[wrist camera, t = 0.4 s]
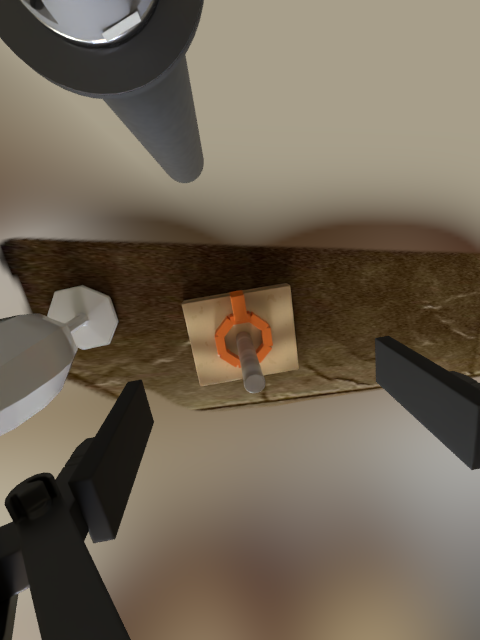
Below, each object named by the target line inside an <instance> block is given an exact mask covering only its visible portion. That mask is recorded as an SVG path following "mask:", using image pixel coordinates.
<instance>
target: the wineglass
mask: <svg viewBox="0 0 480 640" xmlns="http://www.w3.org/2000/svg"><path fill="white" fill-rule="evenodd" d="M47 316H48V317H47ZM47 316H44V315H42V314H26V315H17V316H12V317H9V318H3V319H0V436H1V435H3V434H5V433H7V432H8V431H11V430H13V429H15V428H16V427H17V426H19V425H20V424H22V423H23V422H25V421H26V420H27V419H29V418H30V417H32V416H33V415H35V414H36V413H37V412H39V411H40V410H42V409H43V408H44V407H46V406H47V405H48V403H49V402H50V401H51V400H52V399H53V398H54V397H55V396H56V395H57V394H58V393H59V392H60V391H61V390H62V387H63V385H64V383H65V381H66V378H67V376H68V374H69V372H70V369H71V366H72V363H73V361H74V358H75V355H76V352H77V350H78V349H77V347H78V348H81V349H83V350H84V349H89V348H93V347H98V346H103V345H107V344H110V342H111V340H112V337H113V335H114V332H115V329H116V327H117V324H118V322H119V320H118V317H117V315H116V312H115V309H114V306H113V303H112V300H111V298H110V296H108V295H106V294H103V293H101V292H98V291H96V290H94V289H91V288H89V287H86V286H84V285H81V286H77V287H72V288H67V289H63V290H58V291H55V293H54V296H53V299H52V303H51V306H50V309H49V312H48V315H47Z"/></svg>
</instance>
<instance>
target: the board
mask: <svg viewBox="0 0 480 640" xmlns="http://www.w3.org/2000/svg"><path fill="white" fill-rule="evenodd" d="M242 292H243V294H244V298H245V304H246V311H249V312H250V313H251V312H254V313H255V314H256V315H258V316H259V317H261V318H262V319H264V320H265V321H267V322H268V324H269V326H270V327H271V334H272V342H273V346H271V347H272V349H271V351H270V352H269V353H268V354H267V356H266V357H265V358H264V359H263V361H262V362H261V363H259V360H258V357H257V354H256V350H257V349H258V347H259V346H260V345H261V343H262V335H261V330H260V329H258V328H257V327H255V326H254V325H252V324H251V323H249V322H248V323H242V324H236V325H233V326H232V328H231V329H230V330H229V332H228V333H227V334H226V336H225V343H226V348H227V349H228V350H230V351H231V352H233V353H234V354H236V355H238V356H239V359H240V364H241V368H239V367H238V366H237V367H234V366H232V365H231V364H229V363H228V362H226V361H224V360H223V359H221V358H220V355H218V352H217V347H216V342H215V331H216V330H217V328H218V327H219V326H220V324H221V323H222V321H223V320H224V319H225V317H226V316H228V317H229V318H230V314H233V310H232V304H231V298H230V293H225V294H219V295H213V296H207V297H201V298H195V299H189V300H184V301H183V303H182V307H183V312H184V316H185V321H186V325H187V329H188V334H189V338H190V343H191V347H192V352H193V356H194V360H195V365H196V369H197V374H198V378H199V383H200V386H206V385H211V384H217V383H222V382H228V381H234V380H239V379H243V381H244V386H245V388H246V390H247V391H249V392H251V393H258V392H260V391H261V390H263V388H264V387H265V379H264V376H263V375H267V374H273V373H278V372H284V371H289V370H295V369H299V366H298V356H297V347H296V337H295V327H294V318H293V308H292V298H291V288H290V285H289V284H287V283H284V284H278V285H272V286H266V287H260V288H254V289H248V290H242Z"/></svg>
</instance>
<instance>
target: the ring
mask: <svg viewBox="0 0 480 640" xmlns="http://www.w3.org/2000/svg"><path fill="white" fill-rule="evenodd" d="M230 298H231V304H232V310H233V314H230V318H229V317H228V316H226V317H225V319H224V320H223V321H222V323H221V324H220V326H219V327H218V328H217V330H216V331H215V342H216V347H217V352H218V355H220V358H221V359H223V360H224V361H226V362H228V363H229V364H231V365H232V366H234V367H237V366H238V367H239V368H241V364H240V359H239V356H238V355H236V354H234V353H233V352H231V351H230V350H228V349H227V348H226V343H225V336H226V334H227V333H228V332H229V330H230V329H231V328H232V326H233V325H236V324H242V323H248V322H249V323H251V324H252V325H254V326H255V327H257V328H258V329H260V330H261V335H262V343H261V345H260V346H259V347H258V349H257V350H256V354H257V357H258V360H259V363H261V362H262V361H263V359H264V358H265V357H266V356H267V354H268V353H269V352H270V351H271V349H272V347H271V346H273V342H272V334H271V327H270V326H269V324H268V322H267V321H265V320H264V319H262V318H261V317H259V316H258V315H256V314H255V313H254V312H251V313H250V312H249V311H246V304H245V298H244V294H243V292H242V290H239V291H233V292H230Z"/></svg>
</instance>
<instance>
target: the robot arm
mask: <svg viewBox="0 0 480 640" xmlns="http://www.w3.org/2000/svg"><path fill="white" fill-rule="evenodd" d="M20 1H21V2H22V4H23V5H24V6H25V7H26V8H27V10H28V11H29V12H30V13H31V14H32V15H33V17H34V18H35V19H36V20H37V21H38V22H39V23H40V24H41V25H43V26H44V27H45V28H46V29H47V30H49V31H50V32H51V33H53V34H54V35H55V36H57V37H59V38H60V39H62V40H64V41H66V42H68V43H70V44H73V45H76V46H79V47H83V48H87V49H109V48H114V47H117V46H120V45H122V44H124V43H126V42H128V41H130V40H131V39H133V38H134V37H135V36H137V35H138V34H139V33H140V32H141V31H142V30H143V29H144V28H145V27H146V25H147V24H148V23H149V21H150V20H151V18H152V16H153V15H154V13H155V11H156V8H157V6H158V3H159V1H160V0H20ZM375 352H376V382H377V383H378V384H379V385H380V386H381V387H382V388H384V389H385V390H386V391H387V392H388V393H389V394H390V395H391V396H392V397H393V398H395V400H396V401H398V402H399V403H400V404H401V405H402V406H403V407H404V408H405V409H406V410H407V411H408V412H410V413H411V414H412V415H413V416H414V417H415V418H416V419H417V420H418V421H419V422H420V423H421V424H423V425H424V426H425V427H426V428H427V429H428V430H429V431H430V432H431V433H432V434H433V435H434V436H435V437H437V438H438V439H439V440H440V441H441V442H442V443H443V444H444V445H445V446H446V447H447V448H449V449H450V450H451V451H452V452H453V453H454V454H455V455H456V456H457V457H458V458H459V459H460V460H461V461H463V462H464V463H465V464H466V465H467V466H468V467H469V468H470V469H471V470H474V469H479V468H480V383H478V382H477V381H476V380H474V379H472V378H470V377H468V376H467V375H464V374H461V373H458V372H455V371H450V372H449V371H447V370H446V369H444V368H442V367H440V366H439V365H437V364H435V363H434V362H432V361H430V360H429V359H427V358H425V357H424V356H422V355H420V354H418V353H417V352H415V351H413V350H412V349H410V348H408V347H407V346H405V345H403V344H402V343H400V342H398V341H396V340H395V339H393V338H391V337H390V336H385V337H379V338H375ZM153 423H154V420H153V417H152V414H151V410H150V407H149V403H148V400H147V397H146V393H145V389H144V386H143V382H142V380H137V381H131V382H128V383H127V384H126V386H125V388H124V389H123V391H122V393H121V394H120V396H119V398H118V399H117V401H116V403H115V405H114V406H113V408H112V410H111V411H110V413H109V414H108V416H107V418H106V419H105V421H104V423H103V424H102V426H101V428H100V429H99V431H98V433H97V434H96V436H95V437H93V438H87V439H86V440H84V441H83V442H82V443H81V444H80V445H79V446H78V447H77V448H76V449H75V451H74V452H73V454H72V455H71V457H70V459H69V460H68V461H67V463H66V464H65V467H63V469H62V471H61V472H60V473H59V475H58V477H57V478H56V480H55V479H54V477H53V475H52V474H50V473H41V474H36V475H34V476H32V477H30V478H28V479H26V480H24V481H23V482H21V483H20V484H18V485H17V486H16V487H15V488H14V489H13V490H12V491H11V492H10V493H9V494H8V496H7V497H6V499H5V506H6V508H7V510H8V512H9V514H10V516H11V518H12V519H13V522H11V523H8V524H6V525H4V526H1V527H0V640H12V634H13V627H14V620H15V613H16V606H17V599H18V593H20V592H22V591H24V590H25V589H28V588H30V591H31V595H32V600H33V604H34V608H35V613H36V617H37V621H38V625H39V630H40V634H41V638H42V640H131V639H130V637H129V635H128V633H127V631H126V629H125V627H124V624H123V622H122V620H121V618H120V616H119V614H118V612H117V610H116V608H115V606H114V604H113V602H112V599H111V597H110V595H109V593H108V591H107V589H106V587H105V585H104V583H103V581H102V578H101V576H100V574H99V572H98V570H97V568H96V566H95V564H94V562H93V560H92V557H91V555H90V554H89V551H88V549H87V547H86V545H85V543H84V540H85V538H86V536H87V533H88V532H89V534H90V536H91V539H92V541H93V543H97V542H102V541H108V540H113V539H115V538H116V535H117V532H118V529H119V526H120V523H121V520H122V517H123V514H124V510H125V508H126V505H127V502H128V499H129V495H130V493H131V490H132V487H133V484H134V481H135V478H136V474H137V472H138V468H139V466H140V462H141V460H142V457H143V454H144V450H145V447H146V444H147V441H148V438H149V435H150V432H151V429H152V426H153Z"/></svg>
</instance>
